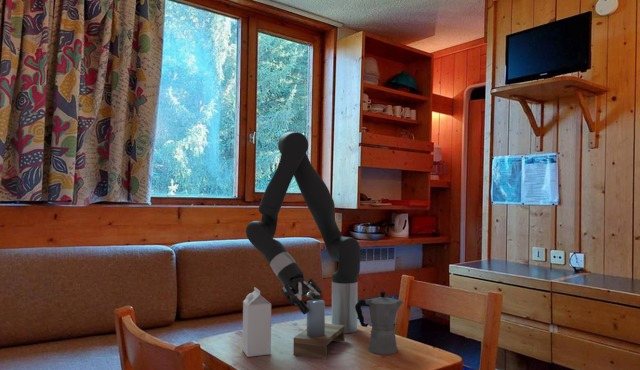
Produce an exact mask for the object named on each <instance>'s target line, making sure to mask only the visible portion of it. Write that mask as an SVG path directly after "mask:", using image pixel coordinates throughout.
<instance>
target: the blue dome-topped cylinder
mask: <svg viewBox="0 0 640 370" xmlns="http://www.w3.org/2000/svg"><path fill="white" fill-rule="evenodd" d="M306 306H307V307H308V309H309V311H308V312H307V314H306V329H307V335H308V336H311V337H321V336H324V335H325V324H326V323H325V319H326V317H325V316H326V311H325V310H326V301H325V300H323V299H322V300H313V299H308V300H306Z"/></svg>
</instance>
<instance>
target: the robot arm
mask: <svg viewBox="0 0 640 370" xmlns="http://www.w3.org/2000/svg"><path fill="white" fill-rule="evenodd" d="M277 149H278V151H279V153H280V157H279V158H280V159H279V162H278V165H277V167H276V169H275V172H274V174H273V175H272V177H271V179H270V180H269V183H268V184H267V186H266V188H265V190H264V193H263V195H262V198H261V200H260V203H259V205H258V212H259V213H260V214H261V219H260V220H253V221H250V222H249V223H248V224H247V225H246V227H245V234H246V237H247V240H248V241H249V242H250V243H251V245H252V246H254V248H256V250H258V251H259V252H260V253H261V254H262V255H263V257H264V258H265V260H266V261H267V262H268V264H269V265H270V267H271V269H272V271H273V273H274V274H275V276H276V277H277V278H278V280H279V281H280V282H281V285H283V287H281V290H280V291H281V292H282V294H283V295H284V297H285V298H286V300H287V303H289V305H295V306H297V308H298V309H299V310H300V312H301V313H302V314H303V315H307V312H308V311H309V309H308V307H307V303H305V301H304V300H302V297H305V296H306V298H310V299H311V300H323V299H322V297H321V296H320V295H321V294H322V293H323V292H322V290H321V289H320V288H319V286H318V285H317V284H316V282H315V281H314V280H313V279H312V278H309V279H308V280H307V279H305V278H304V275H305V274H304V272H303V270H302V268H301V267H300V265H298V263H297V262H296V261H295V259H294V257H293V256H292V255H290V253H289V252H288V251H287V249H286V248H285V247H284V245H283V244H282V243H281V242H280V241H279V240H276V239H275V238H274V237H275V235H276V231H277V226H278V218H279V213H280V210H281V208H282V206H283V204H284V200H285V198H286V194H287V192H288V189H289V187H290V185H291V182H292V180H293V177H294V179H295V181H296V184H297V186H298V189H299V190H300V193H301V196H302V198H303V200H304V202H305V204H306V206H307V208H308V210H309V212H310V214H311V215H312V218H313V220H314V222H315V225H316V226H317V228H318V230H319V232H320V235H321V237H322V239H323V243H324V245H325V248H326V251H327V253H328V255H329V257H330V258H331V259H332V260H334V261H335V262H338V268H337V271H334V272H333V273H332V274H331V324H335V325H345V334H353V333H356V332H357V331H358V315H357V312H356V309H355V305H356V304H357V303H358V277H359V275H360V273H361V272H360V269H361V245H360V243H359V241H358V240H357V239H356V238H355V237H350V236H344V235H343V234H342V233H341V231H340V228H339V226H338V224H337V221H336V210H335V208H336V206H335V201H334V199H333V197H332V194H331V193H330V190H329V188H328V186H327V185H326V183H325V182H324V180H323V178H322V177H321V176H320V175H319V173H318V172H317V171H316V169H315V168H314V167H313V165H312V163H311V161H310V158H309V156H308V154H307V152H308V150H309V140H308V139H307V137H306V136H305V135H304V134H303V133H302V132H298V131H288V132H285V133H283V134H281V136H280V137H279V139H278V143H277Z"/></svg>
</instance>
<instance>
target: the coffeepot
mask: <svg viewBox="0 0 640 370" xmlns="http://www.w3.org/2000/svg"><path fill="white" fill-rule="evenodd" d="M385 296H386V291H384V290H382V291H381V290H380V296H379V297H374V298H369V299H359V300H357V304H356V305H355V309H356V312H357V319H358V320H359V323H360V326H361V327H364V328H365V327H366V328H367V327H369V323H365V318H364V315H363V310H362V307H363V306H364V307H368V311H369V315H370V322H371V327H372V328H371V332H370V337H369V344H368V351H369V352H370V353H373V354H375V355H393V354H396V353H397V352H398V346H397V345H398V344H397V339H396V332H395V321H396V315H397V312H398V310H399V309H400V307H401V305H402V304H404V302H403V300H400V299H394V298H389V297H385Z"/></svg>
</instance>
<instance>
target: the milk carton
mask: <svg viewBox="0 0 640 370" xmlns="http://www.w3.org/2000/svg"><path fill="white" fill-rule="evenodd" d="M253 289H254V290H253V291H252V292H250V293H248V294H247V295H246V297H245V299H244V300H243V301H242V351H243V353H244V354H245V356H246V357H248V358H249V357H257V356H266V355H271V354H272V303H271V302H270V301H268V300H267V299H266V298H265V297H264V296H262V295H261V290H259V289H258V288H257V287H253Z"/></svg>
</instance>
